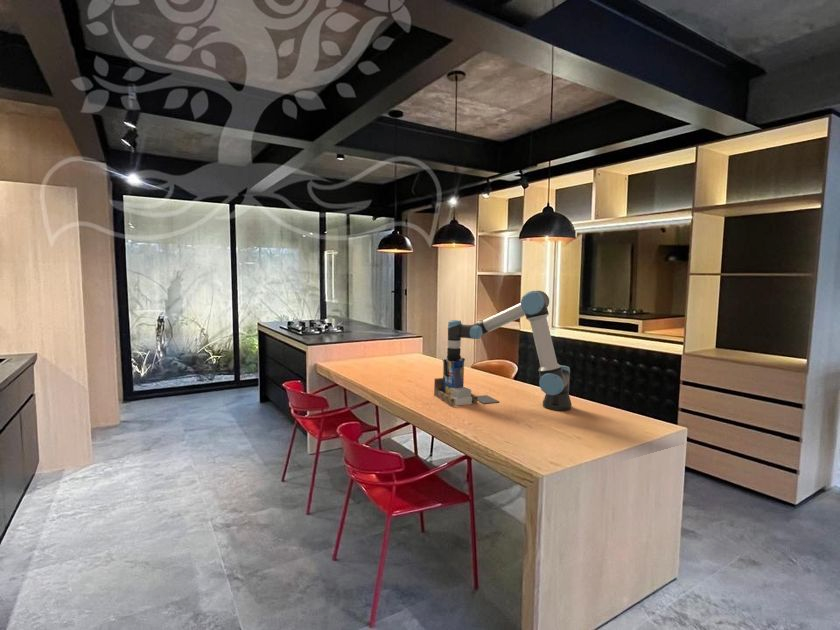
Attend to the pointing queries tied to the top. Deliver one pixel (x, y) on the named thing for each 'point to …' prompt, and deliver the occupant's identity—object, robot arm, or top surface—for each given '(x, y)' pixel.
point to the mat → (486, 399)
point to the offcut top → (461, 392)
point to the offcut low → (462, 400)
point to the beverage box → (453, 376)
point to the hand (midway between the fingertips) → (452, 387)
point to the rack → (444, 397)
